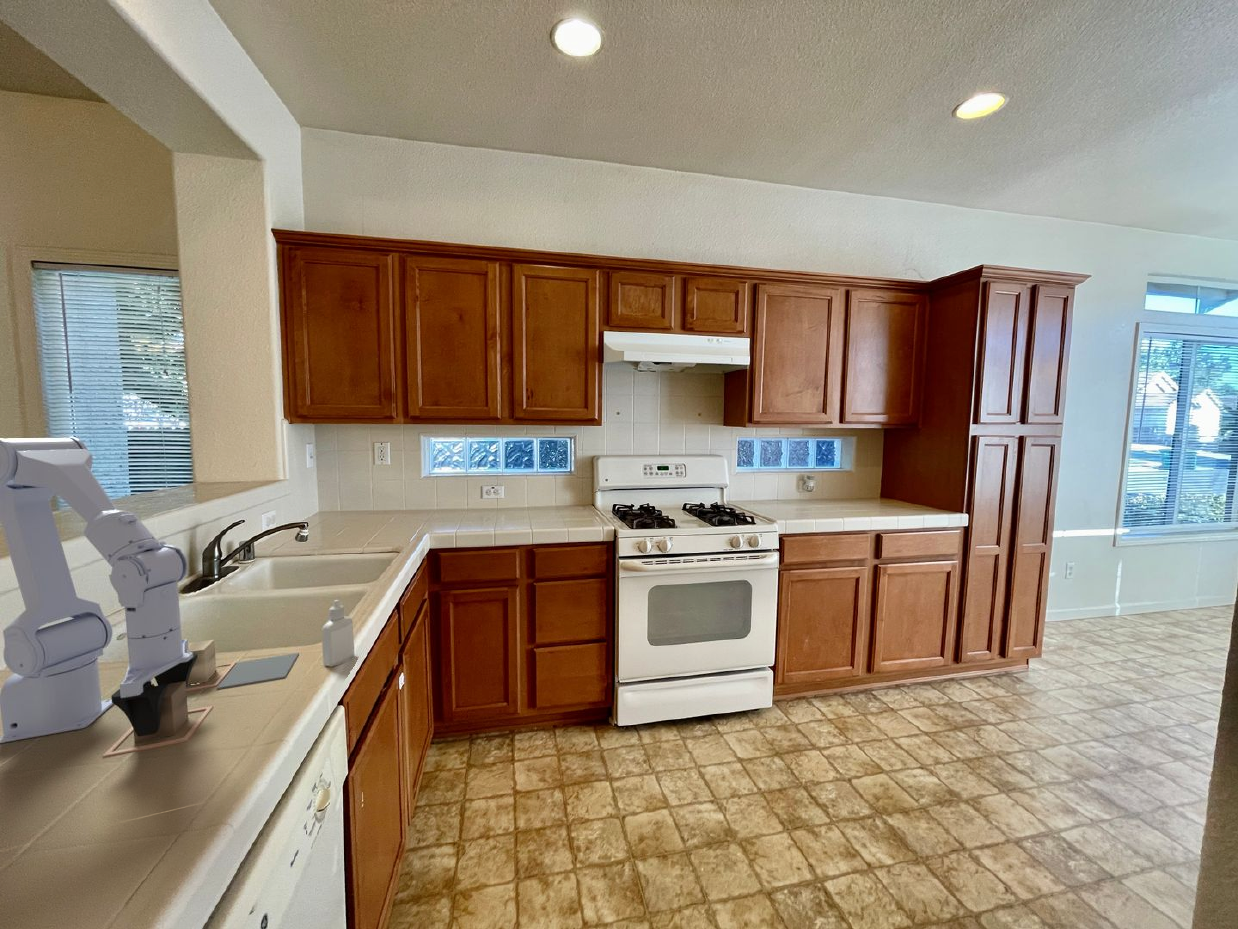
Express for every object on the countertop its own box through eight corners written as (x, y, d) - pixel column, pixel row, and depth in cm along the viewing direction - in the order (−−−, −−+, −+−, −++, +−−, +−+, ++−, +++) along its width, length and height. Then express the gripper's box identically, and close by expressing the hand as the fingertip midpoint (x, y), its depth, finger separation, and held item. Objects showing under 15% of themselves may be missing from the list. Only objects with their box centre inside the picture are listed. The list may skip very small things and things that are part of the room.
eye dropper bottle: (358, 659, 94) (355, 599, 93) (325, 669, 90) (322, 607, 89) (352, 652, 97) (349, 594, 96) (320, 661, 93) (316, 601, 92)
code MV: (149, 697, 81) (149, 696, 81) (176, 672, 89) (175, 671, 89) (217, 686, 84) (217, 685, 84) (236, 663, 93) (236, 661, 93)
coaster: (216, 690, 83) (216, 687, 83) (237, 664, 92) (237, 662, 92) (285, 678, 87) (285, 676, 87) (298, 654, 96) (298, 653, 96)
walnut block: (134, 742, 69) (131, 702, 69) (151, 725, 73) (148, 687, 73) (174, 735, 71) (171, 695, 70) (188, 718, 75) (185, 681, 74)
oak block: (174, 687, 84) (171, 654, 84) (186, 675, 88) (183, 643, 88) (206, 682, 86) (203, 649, 85) (216, 670, 90) (214, 639, 89)
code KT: (102, 758, 66) (102, 755, 66) (139, 720, 74) (139, 719, 74) (187, 741, 69) (187, 739, 69) (213, 707, 78) (213, 705, 78)
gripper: (164, 646, 66) (172, 741, 67) (208, 609, 79) (214, 689, 80) (95, 655, 63) (104, 754, 64) (153, 616, 76) (160, 698, 77)
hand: (161, 719), depth 72 cm, fingers open, 7 cm apart
